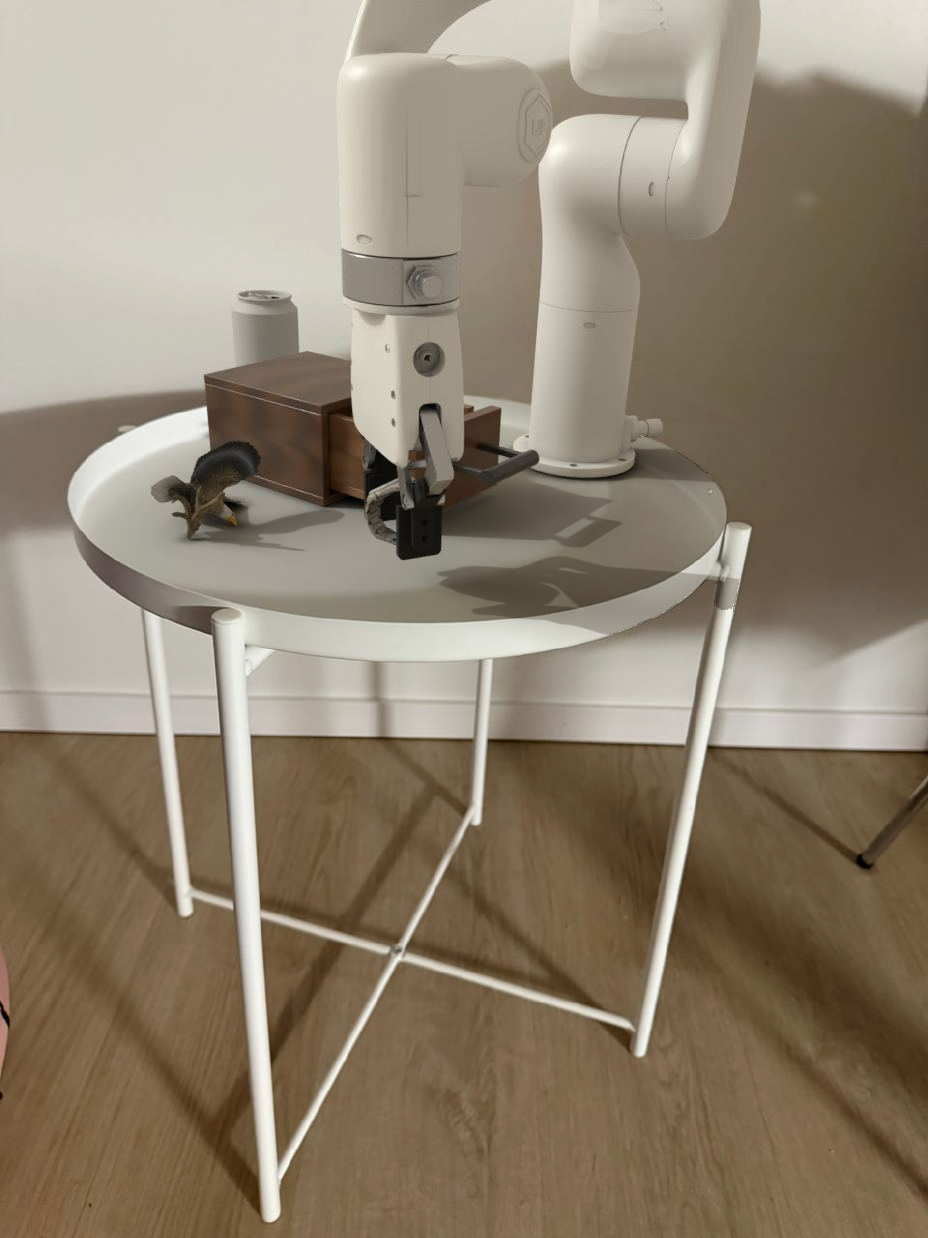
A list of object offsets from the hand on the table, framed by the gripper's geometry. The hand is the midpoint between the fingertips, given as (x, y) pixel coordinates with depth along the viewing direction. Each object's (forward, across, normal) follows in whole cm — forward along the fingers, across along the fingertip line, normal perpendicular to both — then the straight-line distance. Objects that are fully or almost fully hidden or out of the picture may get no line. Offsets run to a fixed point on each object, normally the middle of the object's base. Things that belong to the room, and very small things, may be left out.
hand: (401, 534), depth 70 cm
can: (+5, +52, -3) cm, 53 cm away
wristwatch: (+1, 0, 0) cm, 1 cm away
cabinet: (+5, +26, -1) cm, 27 cm away
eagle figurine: (+4, +16, +11) cm, 20 cm away
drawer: (+4, +15, -8) cm, 17 cm away
